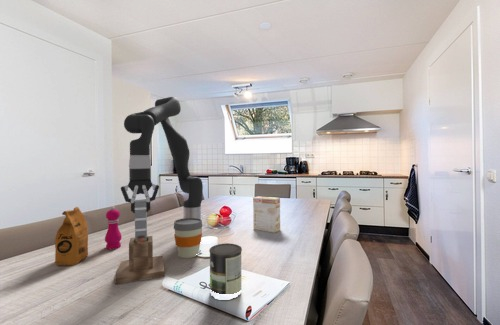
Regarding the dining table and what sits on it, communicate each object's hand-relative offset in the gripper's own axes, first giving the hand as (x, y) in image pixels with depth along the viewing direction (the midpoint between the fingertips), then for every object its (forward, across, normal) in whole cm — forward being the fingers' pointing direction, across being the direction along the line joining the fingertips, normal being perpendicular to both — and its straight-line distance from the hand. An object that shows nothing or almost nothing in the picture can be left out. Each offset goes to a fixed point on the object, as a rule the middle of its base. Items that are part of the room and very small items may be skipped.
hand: (140, 212), depth 98 cm
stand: (+23, 0, 0) cm, 23 cm away
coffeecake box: (+23, -68, -34) cm, 79 cm away
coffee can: (+23, -26, +27) cm, 44 cm away
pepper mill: (+23, +14, -34) cm, 43 cm away
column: (+14, 0, 0) cm, 14 cm away
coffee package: (+23, +28, -22) cm, 42 cm away
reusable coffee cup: (+23, -19, -11) cm, 32 cm away
